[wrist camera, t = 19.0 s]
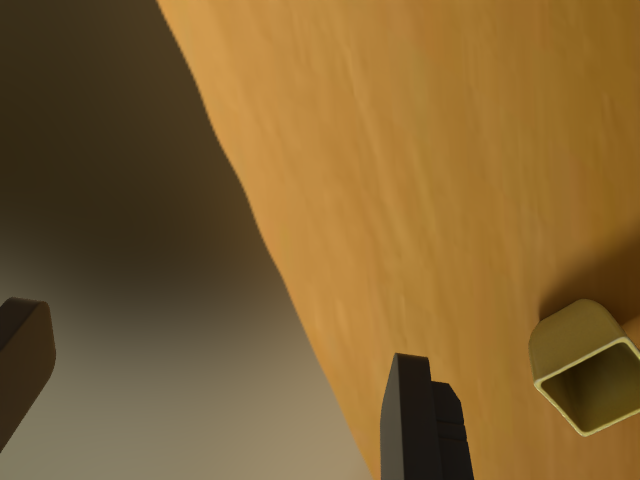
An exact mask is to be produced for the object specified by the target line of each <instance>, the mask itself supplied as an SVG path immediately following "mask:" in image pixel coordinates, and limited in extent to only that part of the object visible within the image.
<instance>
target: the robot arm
mask: <svg viewBox="0 0 640 480" xmlns="http://www.w3.org/2000/svg"><path fill="white" fill-rule="evenodd" d="M55 360H56V349H55V343H54V336H53V329H52V322H51V315H50V309H49V306H48V304H47V303H46V302H44V301H37V300H30V299H23V298H16V297H11V298H9V299H7V300H6V301H5V302H4V303H3V305H2V306H1V307H0V453H1V451H2V450H3V448H4V447H5V445H6V444H7V442H8V441H9V439H10V438H11V436H12V435H13V433H14V432H15V430H16V428H17V427H18V426H19V424H20V423H21V421H22V419H23V418H24V416H25V415H26V413H27V412H28V410H29V409H30V407H31V406H32V404H33V403H34V401H35V400H36V398H37V397H38V395H39V394H40V392H41V391H42V389H43V388H44V386H45V384H46V383H47V381H48V380H49V378H50V376H51V374H52V372H53V369H54V365H55ZM380 451H381V480H474V476H473V470H472V464H471V459H470V453H469V447H468V442H467V435H466V430H465V425H464V418H463V412H462V407H461V402H460V400H459V399H458V397H457V396H456V394H455V393H454V391H453V389H452V388H451V386H450V385H449V383H442V382H435V381H431V374H430V366H429V360H428V358H427V357H422V356H415V355H408V354H401V353H395V355H394V358H393V362H392V366H391V370H390V374H389V378H388V382H387V386H386V390H385V394H384V398H383V403H382V410H381V420H380Z"/></svg>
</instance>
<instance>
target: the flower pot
mask: <svg viewBox="0 0 640 480" xmlns="http://www.w3.org/2000/svg"><path fill="white" fill-rule="evenodd" d="M529 357H530V363H531V369H532V375H533V381H534V386H535V387H536V388H537V389H538V390H539V391H540V393H541V394H543V395H544V396H545V397H546V398H547V399H548V400H549V401H550V402H551V403H552V404H553V405H554V406H555V407H556V408H557V410H558V411H559V412H560V413H561V414H562V415H563V416H564V417H565V418H566V420H567V421H568V422H569V423H570V424H571V425H572V426H573V427H574V429H575V430H576V431H577V432H578V433H579V434H580V435H582V436H584V437H586V436H589V435H591V434H594V433H596V432H598V431H600V430H602V429H604V428H606V427H608V426H611V425H613V424H615V423H617V422H619V421H621V420H624V419H626V418H628V417H630V416H632V415H634V414H637V413H639V412H640V350H639V349H638V348H637V347H636V346H635V344H634V343H633V342H632V341H631V339H630V338H629V337H628V336H627V334H626V333H625V332H624V331H623V329H622V328H621V327H620V325H619V324H618V323H617V322H616V320H615V319H614V318H613V316H612V315H611V314H610V313H609V312H608V310H607V309H606V308H604V307H603V306H602V305H601V304H599V303H597V302H595V301H593V300H589V299H580V300H577V301H576V302H574V303H572V304H570V305H569V306H567V307H565V308H563V309H562V310H560V311H558V312H556V313H554V314H553V315H551V316H549V317H547V318H545V319H543V320H542V321H540V322H539V323H538V324H537V326H536V327H535V329H534V330H533V332H532V334H531V337H530V340H529Z"/></svg>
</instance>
